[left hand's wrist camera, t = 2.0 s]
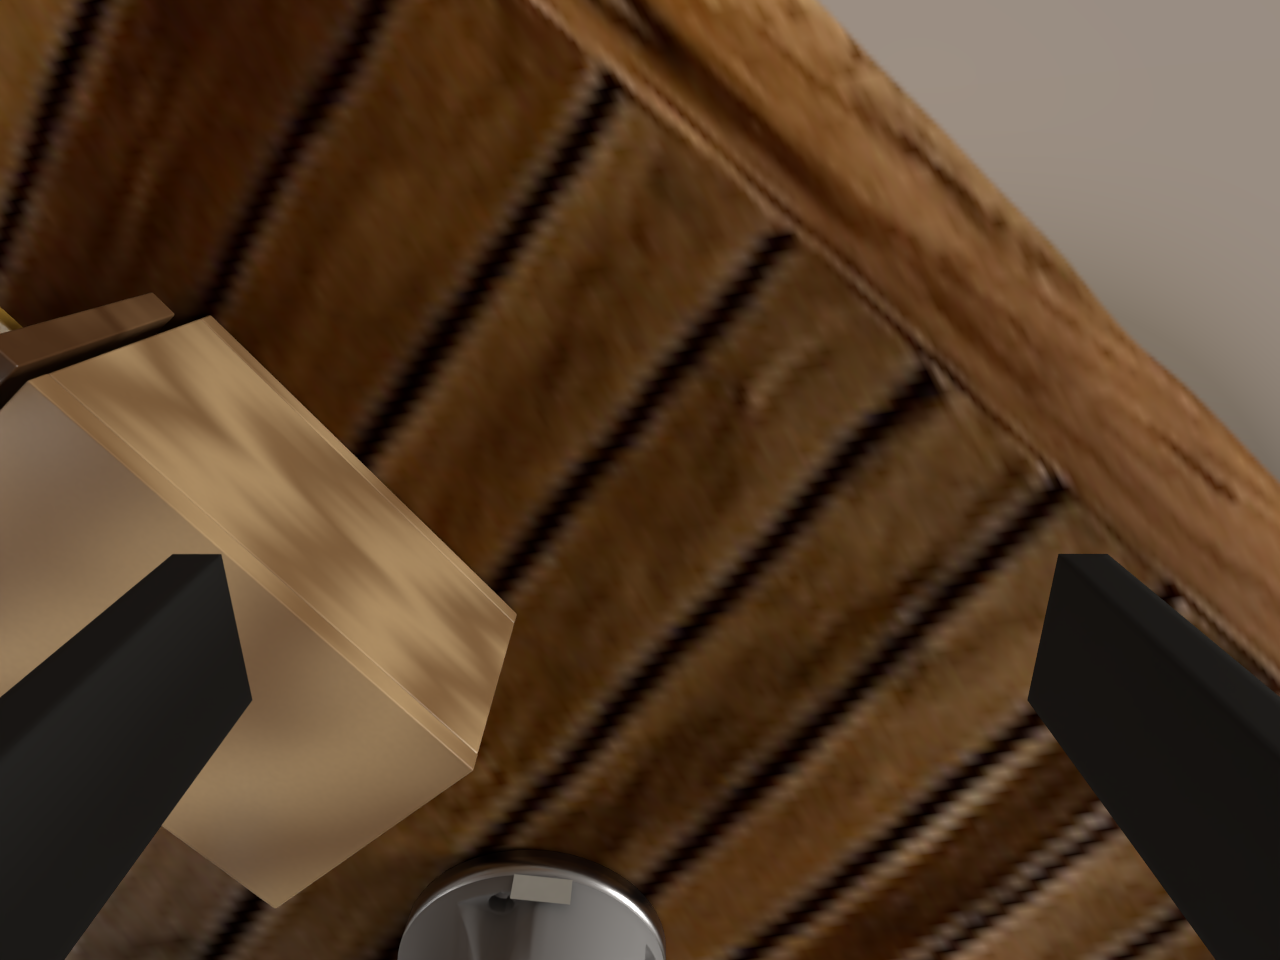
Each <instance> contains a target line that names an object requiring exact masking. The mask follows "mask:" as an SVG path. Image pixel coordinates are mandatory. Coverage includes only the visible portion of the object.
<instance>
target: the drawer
mask: <svg viewBox="0 0 1280 960" xmlns="http://www.w3.org/2000/svg"><path fill="white" fill-rule="evenodd" d="M173 316H174V313H173V312H172V311H171V310H170V309H169V308H168V307H167V306H166V305H165V304H164V303H163V302H162V301H161V300H160V299H159V298H158V297H156V296H155V295H154V294H153V293H147V294H144V295H140V296H136V297H133V298H129V299H125V300H122V301H118V302H114V303H111V304H107V305H103V306H100V307H96V308H92V309H89V310H85V311H81V312H78V313H74V314H70V315H67V316H63V317H59V318H56V319H52V320H48V321H45V322H41V323H37V324H34V325H30V326H26V327H22V326H21V325H20V324H19V323H18V322H16V321H15V320H14V319H13V318H12V317H11V316H10V315H9V314H7V313H6V312H5V311H4V310H3V309H2V308H1V307H0V410H1V409H2V408H3V407H4V405H5V404H6V403H7V402H8V401H9V400H10V399H11V398H12V397H13V396H14V395H15V394H16V393H17V392H18V391H19V389H20V388H21V387H22V386H23V385H24V384H25V383H26V382H27V381H28V380H31V379H34V378H36V377H39V376H42V375H45V374H49V373H52V372H54V371H57V370H60V369H63V368H65V367H68V366H71V365H74V364H76V363H79V362H82V361H85V360H88V359H90V358H93V357H96V356H99V355H101V354H104V353H107V352H110V351H112V350H115V349H118V348H121V347H123V346H126V345H129V344H132V343H134V342H137V341H140V340H143V339H146V338H148V337H151V336H154V335H156V334H157V333H158V332H159V331H160V330H161V329H162V328H163V327H164V325H165V324H166V323H167V322H168V321H169V320H170V319H171V318H172V317H173Z"/></svg>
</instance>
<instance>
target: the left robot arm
mask: <svg viewBox="0 0 1280 960" xmlns="http://www.w3.org/2000/svg"><path fill="white" fill-rule="evenodd" d="M251 701H252V695H251V691H250V686H249V681H248V677H247V672H246V667H245V662H244V658H243V653H242V648H241V644H240V639H239V634H238V630H237V625H236V620H235V615H234V611H233V606H232V601H231V597H230V592H229V587H228V583H227V578H226V573H225V568H224V564H223V559H222V554H172V555H171V556H170V557H168V558H167V559H166V560H165V561H164V562H162V563H161V564H160V565H159V566H158V567H156V568H155V569H154V570H153V571H152V572H150V573H149V574H148V575H147V576H146V577H144V578H143V579H142V580H141V581H140V582H138V583H137V584H136V585H135V586H133V587H132V588H131V589H130V590H129V591H127V592H126V593H125V594H124V595H123V596H121V597H120V598H119V599H118V600H117V601H115V602H114V603H113V604H112V605H111V606H109V607H108V608H107V609H106V610H105V611H103V612H102V613H101V614H100V615H99V616H97V617H96V618H95V619H94V620H93V621H91V622H90V623H89V624H88V625H87V626H85V627H84V628H83V629H82V630H81V631H79V632H78V633H77V634H76V635H75V636H73V637H72V638H71V639H70V640H68V641H67V642H66V643H65V644H64V645H62V646H61V647H60V648H59V649H58V650H56V651H55V652H54V653H53V654H52V655H50V656H49V657H48V658H47V659H46V660H44V661H43V662H42V663H41V664H40V665H38V666H37V667H36V668H35V669H34V670H32V671H31V672H30V673H29V674H28V675H26V676H25V677H24V678H23V679H22V680H20V681H19V682H18V683H17V684H16V685H14V686H13V687H12V688H11V689H9V690H8V691H7V692H6V693H5V694H3V695H2V696H1V697H0V960H64V959H65V958H66V957H67V955H68V954H69V952H70V951H71V950H72V948H73V947H74V946H75V944H76V943H77V941H78V940H79V939H80V937H81V936H82V934H83V933H84V932H85V930H86V929H87V928H88V926H89V925H90V923H91V922H92V921H93V919H94V918H95V917H96V915H97V914H98V912H99V911H100V910H101V908H102V907H103V906H104V904H105V903H106V901H107V900H108V899H109V897H110V896H111V895H112V893H113V892H114V890H115V889H116V888H117V886H118V885H119V883H120V882H121V881H122V879H123V878H124V877H125V875H126V874H127V872H128V871H129V870H130V868H131V867H132V866H133V864H134V863H135V861H136V860H137V859H138V857H139V856H140V855H141V853H142V852H143V850H144V849H145V848H146V846H147V845H148V843H149V842H150V841H151V839H152V838H153V837H154V835H155V834H156V832H157V831H158V830H159V828H160V827H161V826H162V824H163V823H164V821H165V820H166V819H167V817H168V816H169V815H170V813H171V812H172V810H173V809H174V808H175V806H176V805H177V803H178V802H179V801H180V799H181V798H182V797H183V795H184V794H185V792H186V791H187V790H188V788H189V787H190V786H191V784H192V783H193V781H194V780H195V779H196V777H197V776H198V775H199V773H200V772H201V770H202V769H203V768H204V766H205V765H206V764H207V762H208V761H209V759H210V758H211V757H212V755H213V754H214V752H215V751H216V750H217V748H218V747H219V746H220V744H221V743H222V741H223V740H224V739H225V737H226V736H227V735H228V733H229V732H230V730H231V729H232V728H233V726H234V725H235V724H236V722H237V721H238V719H239V718H240V717H241V715H242V714H243V712H244V711H245V710H246V708H247V707H248V706H249V704H250V703H251ZM1028 701H1029V703H1030V704H1031V706H1032V707H1033V708H1034V710H1035V711H1036V712H1037V714H1038V715H1039V717H1040V718H1041V719H1042V721H1043V722H1044V724H1045V725H1046V726H1047V728H1048V729H1049V730H1050V732H1051V733H1052V735H1053V736H1054V737H1055V739H1056V740H1057V741H1058V743H1059V744H1060V746H1061V747H1062V748H1063V750H1064V751H1065V752H1066V754H1067V755H1068V757H1069V758H1070V759H1071V761H1072V762H1073V764H1074V765H1075V766H1076V768H1077V769H1078V770H1079V772H1080V773H1081V775H1082V776H1083V777H1084V779H1085V780H1086V781H1087V783H1088V784H1089V786H1090V787H1091V788H1092V790H1093V791H1094V792H1095V794H1096V795H1097V797H1098V798H1099V799H1100V801H1101V802H1102V803H1103V805H1104V806H1105V808H1106V809H1107V810H1108V812H1109V813H1110V815H1111V816H1112V817H1113V819H1114V820H1115V821H1116V823H1117V824H1118V826H1119V827H1120V828H1121V830H1122V831H1123V832H1124V834H1125V835H1126V837H1127V838H1128V839H1129V841H1130V842H1131V843H1132V845H1133V846H1134V848H1135V849H1136V850H1137V852H1138V853H1139V855H1140V856H1141V857H1142V859H1143V860H1144V861H1145V863H1146V864H1147V866H1148V867H1149V868H1150V870H1151V871H1152V872H1153V874H1154V875H1155V877H1156V878H1157V879H1158V881H1159V882H1160V883H1161V885H1162V886H1163V888H1164V889H1165V890H1166V892H1167V893H1168V895H1169V896H1170V897H1171V899H1172V900H1173V901H1174V903H1175V904H1176V906H1177V907H1178V908H1179V910H1180V911H1181V912H1182V914H1183V915H1184V917H1185V918H1186V919H1187V921H1188V922H1189V923H1190V925H1191V926H1192V928H1193V929H1194V930H1195V932H1196V933H1197V934H1198V936H1199V937H1200V939H1201V940H1202V941H1203V943H1204V944H1205V946H1206V947H1207V948H1208V950H1209V951H1210V952H1211V954H1212V955H1213V957H1214V958H1215V959H1216V960H1280V697H1279V696H1278V695H1277V694H1275V693H1274V692H1273V691H1272V690H1271V689H1269V688H1268V687H1267V686H1266V685H1264V684H1263V683H1262V682H1261V681H1260V680H1258V679H1257V678H1256V677H1255V676H1254V675H1252V674H1251V673H1250V672H1249V671H1248V670H1246V669H1245V668H1244V667H1243V666H1242V665H1240V664H1239V663H1238V662H1237V661H1236V660H1234V659H1233V658H1232V657H1231V656H1230V655H1228V654H1227V653H1226V652H1225V651H1224V650H1222V649H1221V648H1220V647H1219V646H1218V645H1216V644H1215V643H1214V642H1213V641H1212V640H1210V639H1209V638H1208V637H1207V636H1205V635H1204V634H1203V633H1202V632H1201V631H1199V630H1198V629H1197V628H1196V627H1195V626H1193V625H1192V624H1191V623H1190V622H1189V621H1187V620H1186V619H1185V618H1184V617H1183V616H1181V615H1180V614H1179V613H1178V612H1177V611H1175V610H1174V609H1173V608H1172V607H1171V606H1169V605H1168V604H1167V603H1166V602H1165V601H1163V600H1162V599H1161V598H1160V597H1159V596H1157V595H1156V594H1155V593H1154V592H1153V591H1151V590H1150V589H1149V588H1148V587H1147V586H1145V585H1144V584H1143V583H1142V582H1140V581H1139V580H1138V579H1137V578H1136V577H1134V576H1133V575H1132V574H1131V573H1130V572H1128V571H1127V570H1126V569H1125V568H1124V567H1122V566H1121V565H1120V564H1119V563H1118V562H1116V561H1115V560H1114V559H1113V558H1112V557H1110V556H1109V555H1108V554H1058V559H1057V564H1056V568H1055V573H1054V578H1053V583H1052V587H1051V592H1050V597H1049V601H1048V606H1047V611H1046V615H1045V620H1044V625H1043V630H1042V634H1041V639H1040V644H1039V648H1038V653H1037V658H1036V662H1035V667H1034V672H1033V677H1032V681H1031V686H1030V691H1029V695H1028ZM398 960H666V947H665V936H664V931H663V927H662V924H661V921H660V919H659V917H658V915H657V913H656V911H655V910H654V908H653V906H652V905H651V904H650V902H649V901H648V900H647V898H646V897H645V896H644V895H643V894H642V893H641V892H640V891H639V890H638V889H637V888H636V887H635V886H634V885H632V884H631V883H630V882H629V881H628V880H626V879H625V878H623V877H622V876H620V875H619V874H617V873H615V872H614V871H612V870H610V869H608V868H606V867H604V866H602V865H600V864H598V863H595V862H593V861H590V860H587V859H584V858H581V857H577V856H574V855H570V854H565V853H560V852H554V851H546V850H512V851H503V852H497V853H491V854H487V855H484V856H480V857H477V858H474V859H471V860H468V861H466V862H463V863H461V864H459V865H457V866H455V867H453V868H451V869H450V870H448V871H446V872H445V873H443V874H442V875H440V876H439V877H438V878H436V879H435V880H434V881H433V882H432V883H431V884H429V885H428V886H427V888H426V889H425V890H424V891H423V892H422V893H421V894H420V896H419V897H418V899H417V900H416V902H415V904H414V906H413V907H412V909H411V912H410V915H409V917H408V920H407V924H406V927H405V930H404V933H403V936H402V940H401V943H400V947H399V952H398Z"/></svg>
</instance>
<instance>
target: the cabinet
mask: <svg viewBox="0 0 1280 960" xmlns="http://www.w3.org/2000/svg"><path fill="white" fill-rule="evenodd" d="M172 554H222V559H223V564H224V568H225V573H226V578H227V583H228V587H229V592H230V597H231V601H232V606H233V611H234V615H235V620H236V625H237V630H238V634H239V639H240V644H241V648H242V653H243V658H244V662H245V667H246V672H247V677H248V681H249V686H250V691H251V695H252V701H251V703H250V704H249V706H248V707H247V708H246V710H245V711H244V712H243V714H242V715H241V717H240V718H239V719H238V721H237V722H236V724H235V725H234V726H233V728H232V729H231V730H230V732H229V733H228V735H227V736H226V737H225V739H224V740H223V741H222V743H221V744H220V746H219V747H218V748H217V750H216V751H215V752H214V754H213V755H212V757H211V758H210V759H209V761H208V762H207V764H206V765H205V766H204V768H203V769H202V770H201V772H200V773H199V775H198V776H197V777H196V779H195V780H194V781H193V783H192V784H191V786H190V787H189V788H188V790H187V791H186V792H185V794H184V795H183V797H182V798H181V799H180V801H179V802H178V803H177V805H176V806H175V808H174V809H173V810H172V812H171V813H170V815H169V816H168V817H167V819H166V820H165V821H164V823H163V824H162V827H164V828H165V829H167V830H168V831H169V832H171V833H172V834H173V835H175V836H176V837H178V838H179V839H180V840H182V841H183V842H184V843H186V844H187V845H188V846H190V847H191V848H193V849H194V850H195V851H197V852H198V853H199V854H201V855H202V856H203V857H205V858H206V859H208V860H209V861H210V862H212V863H213V864H214V865H216V866H217V867H218V868H220V869H221V870H223V871H224V872H225V873H227V874H228V875H229V876H231V877H232V878H233V879H235V880H236V881H238V882H239V883H240V884H242V885H243V886H244V887H246V888H247V889H249V890H250V891H251V892H253V893H254V894H255V895H257V896H258V897H259V898H261V899H262V900H264V901H265V902H266V903H268V904H269V905H270V906H272V907H273V908H274V909H276V908H277V907H279V906H280V905H282V904H283V903H285V902H286V901H287V900H289V899H290V898H292V897H293V896H295V895H296V894H297V893H299V892H300V891H302V890H303V889H305V888H306V887H307V886H309V885H310V884H312V883H313V882H315V881H316V880H317V879H319V878H320V877H322V876H323V875H325V874H326V873H327V872H329V871H330V870H332V869H333V868H335V867H336V866H337V865H339V864H340V863H342V862H343V861H344V860H346V859H347V858H349V857H350V856H352V855H353V854H354V853H356V852H357V851H359V850H360V849H362V848H363V847H364V846H366V845H367V844H369V843H370V842H372V841H373V840H374V839H376V838H377V837H379V836H380V835H382V834H383V833H384V832H386V831H387V830H389V829H390V828H392V827H393V826H394V825H396V824H397V823H399V822H400V821H402V820H403V819H404V818H406V817H407V816H409V815H410V814H412V813H413V812H414V811H416V810H417V809H419V808H420V807H421V806H423V805H424V804H426V803H427V802H429V801H430V800H431V799H433V798H434V797H436V796H437V795H439V794H440V793H441V792H443V791H444V790H446V789H447V788H449V787H450V786H451V785H453V784H454V783H456V782H457V781H459V780H460V779H461V778H463V777H464V776H466V775H467V774H469V773H470V772H471V771H473V769H474V766H475V762H476V758H477V753H478V750H479V746H480V743H481V739H482V736H483V732H484V729H485V725H486V721H487V718H488V714H489V711H490V707H491V704H492V700H493V697H494V693H495V690H496V686H497V683H498V679H499V675H500V672H501V668H502V665H503V661H504V658H505V654H506V651H507V647H508V644H509V640H510V637H511V633H512V629H513V626H514V622H515V619H516V615H517V614H516V613H515V612H514V611H513V610H512V609H511V608H510V607H509V606H508V605H507V604H506V603H505V602H504V601H503V600H502V599H501V598H500V597H499V596H498V595H497V594H496V593H495V592H494V591H493V590H492V589H491V588H490V587H489V586H487V585H486V584H485V583H484V582H483V581H482V580H481V579H480V578H479V577H478V576H477V575H476V574H475V573H474V572H473V571H472V570H471V569H470V568H469V567H468V566H467V565H466V564H465V563H464V562H463V561H462V560H461V559H460V558H459V557H458V556H457V555H456V554H455V553H454V552H453V551H452V550H451V549H450V548H449V547H448V546H447V545H446V544H444V543H443V542H442V541H441V540H440V539H439V538H438V537H437V536H436V535H435V534H434V533H433V532H432V531H431V530H430V529H429V528H428V527H427V526H426V525H425V524H424V523H423V522H422V521H421V520H420V519H419V518H418V517H417V516H416V515H415V514H414V513H413V512H412V511H411V510H410V509H409V508H408V507H407V506H406V505H405V504H404V503H402V502H401V501H400V500H399V499H398V498H397V497H396V496H395V495H394V494H393V493H392V492H391V491H390V490H389V489H388V488H387V487H386V486H385V485H384V484H383V483H382V482H381V481H380V480H379V479H378V478H377V477H376V476H375V475H374V474H373V473H372V472H371V471H370V470H369V469H368V468H367V467H366V466H365V465H364V464H363V463H362V462H360V461H359V460H358V459H357V458H356V457H355V456H354V455H353V454H352V453H351V452H350V451H349V450H348V449H347V448H346V447H345V446H344V445H343V444H342V443H341V442H340V441H339V440H338V439H337V438H336V437H335V436H334V435H333V434H332V433H331V432H330V431H329V430H328V429H327V428H326V427H325V426H324V425H323V424H322V423H321V422H320V421H318V420H317V419H316V418H315V417H314V416H313V415H312V414H311V413H310V412H309V411H308V410H307V409H306V408H305V407H304V406H303V405H302V404H301V403H300V402H299V401H298V400H297V399H296V398H295V397H294V396H293V395H292V394H291V393H290V392H289V391H288V390H287V389H286V388H285V387H284V386H283V385H282V384H281V383H280V382H279V381H278V380H276V379H275V378H274V377H273V376H272V375H271V374H270V373H269V372H268V371H267V370H266V369H265V368H264V367H263V366H262V365H261V364H260V363H259V362H258V361H257V360H256V359H255V358H254V357H253V356H252V355H251V354H250V353H249V352H248V351H247V350H246V349H245V348H244V347H243V346H242V345H241V344H240V343H239V342H238V341H237V340H236V339H235V338H233V337H232V336H231V335H230V334H229V333H228V332H227V331H226V330H225V329H224V328H223V327H222V326H221V325H220V324H219V323H218V322H217V321H216V320H215V319H214V318H213V317H212V316H210V315H209V316H206V317H204V318H201V319H198V320H195V321H193V322H190V323H187V324H184V325H181V326H179V327H176V328H173V329H170V330H168V331H165V332H162V333H159V334H157V335H154V336H151V337H148V338H146V339H143V340H140V341H137V342H134V343H132V344H129V345H126V346H123V347H121V348H118V349H115V350H112V351H110V352H107V353H104V354H101V355H99V356H96V357H93V358H90V359H88V360H85V361H82V362H79V363H76V364H74V365H71V366H68V367H65V368H63V369H60V370H57V371H54V372H52V373H49V374H45V375H42V376H39V377H36V378H34V379H31V380H28V381H27V382H26V383H25V384H24V385H23V386H22V387H21V388H20V389H19V391H18V392H17V393H16V394H15V395H14V396H13V397H12V398H11V399H10V400H9V401H8V402H7V403H6V404H5V405H4V407H3V408H2V409H1V410H0V697H1V696H2V695H3V694H5V693H6V692H7V691H8V690H9V689H11V688H12V687H13V686H14V685H16V684H17V683H18V682H19V681H20V680H22V679H23V678H24V677H25V676H26V675H28V674H29V673H30V672H31V671H32V670H34V669H35V668H36V667H37V666H38V665H40V664H41V663H42V662H43V661H44V660H46V659H47V658H48V657H49V656H50V655H52V654H53V653H54V652H55V651H56V650H58V649H59V648H60V647H61V646H62V645H64V644H65V643H66V642H67V641H68V640H70V639H71V638H72V637H73V636H75V635H76V634H77V633H78V632H79V631H81V630H82V629H83V628H84V627H85V626H87V625H88V624H89V623H90V622H91V621H93V620H94V619H95V618H96V617H97V616H99V615H100V614H101V613H102V612H103V611H105V610H106V609H107V608H108V607H109V606H111V605H112V604H113V603H114V602H115V601H117V600H118V599H119V598H120V597H121V596H123V595H124V594H125V593H126V592H127V591H129V590H130V589H131V588H132V587H133V586H135V585H136V584H137V583H138V582H140V581H141V580H142V579H143V578H144V577H146V576H147V575H148V574H149V573H150V572H152V571H153V570H154V569H155V568H156V567H158V566H159V565H160V564H161V563H162V562H164V561H165V560H166V559H167V558H168V557H170V556H171V555H172Z"/></svg>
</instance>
